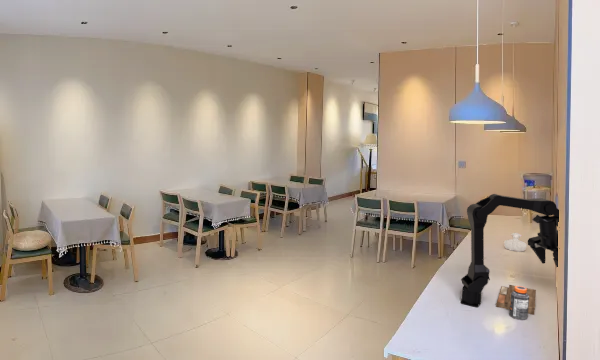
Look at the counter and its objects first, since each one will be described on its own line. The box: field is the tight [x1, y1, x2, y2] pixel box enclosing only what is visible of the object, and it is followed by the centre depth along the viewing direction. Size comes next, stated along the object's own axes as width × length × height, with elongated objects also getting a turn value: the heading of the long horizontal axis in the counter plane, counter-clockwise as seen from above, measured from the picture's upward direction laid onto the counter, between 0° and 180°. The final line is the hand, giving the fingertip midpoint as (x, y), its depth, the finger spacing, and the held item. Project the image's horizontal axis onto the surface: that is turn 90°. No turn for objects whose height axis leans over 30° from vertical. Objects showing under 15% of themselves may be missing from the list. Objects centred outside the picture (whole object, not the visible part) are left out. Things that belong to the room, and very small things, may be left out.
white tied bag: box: [503, 232, 528, 253], centre depth 236 cm, size 12×8×11 cm
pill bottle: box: [508, 285, 529, 321], centre depth 147 cm, size 6×6×11 cm
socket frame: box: [495, 284, 537, 316], centre depth 162 cm, size 13×22×2 cm, turn 149°
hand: (552, 267), depth 157 cm, fingers open, 9 cm apart
